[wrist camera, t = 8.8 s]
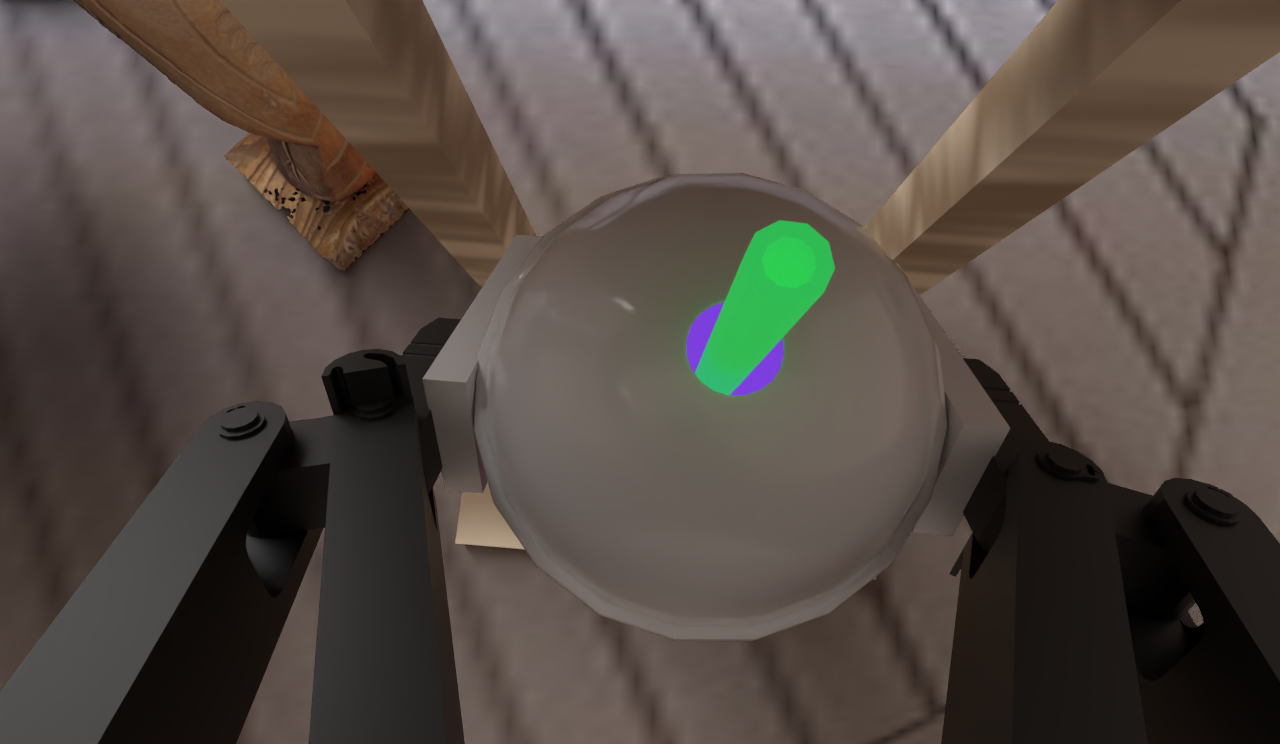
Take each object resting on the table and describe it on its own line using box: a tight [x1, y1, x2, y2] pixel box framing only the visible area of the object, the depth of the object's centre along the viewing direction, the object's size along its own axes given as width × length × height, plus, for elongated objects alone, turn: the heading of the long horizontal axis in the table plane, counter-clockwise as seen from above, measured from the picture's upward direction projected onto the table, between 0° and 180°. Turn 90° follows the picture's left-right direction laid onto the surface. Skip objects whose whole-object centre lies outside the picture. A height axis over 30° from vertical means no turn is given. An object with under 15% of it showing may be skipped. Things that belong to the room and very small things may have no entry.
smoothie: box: [473, 173, 948, 641], centre depth 14 cm, size 8×8×20 cm
